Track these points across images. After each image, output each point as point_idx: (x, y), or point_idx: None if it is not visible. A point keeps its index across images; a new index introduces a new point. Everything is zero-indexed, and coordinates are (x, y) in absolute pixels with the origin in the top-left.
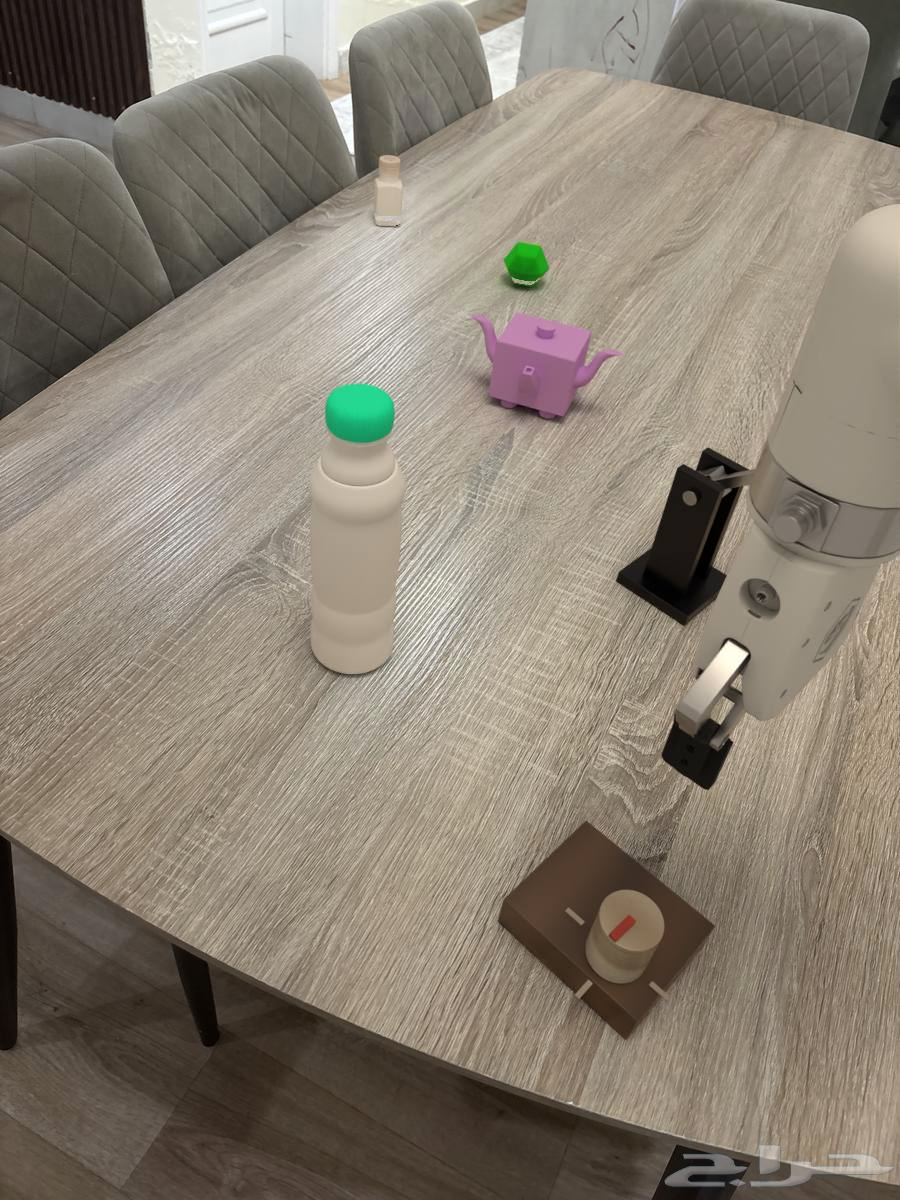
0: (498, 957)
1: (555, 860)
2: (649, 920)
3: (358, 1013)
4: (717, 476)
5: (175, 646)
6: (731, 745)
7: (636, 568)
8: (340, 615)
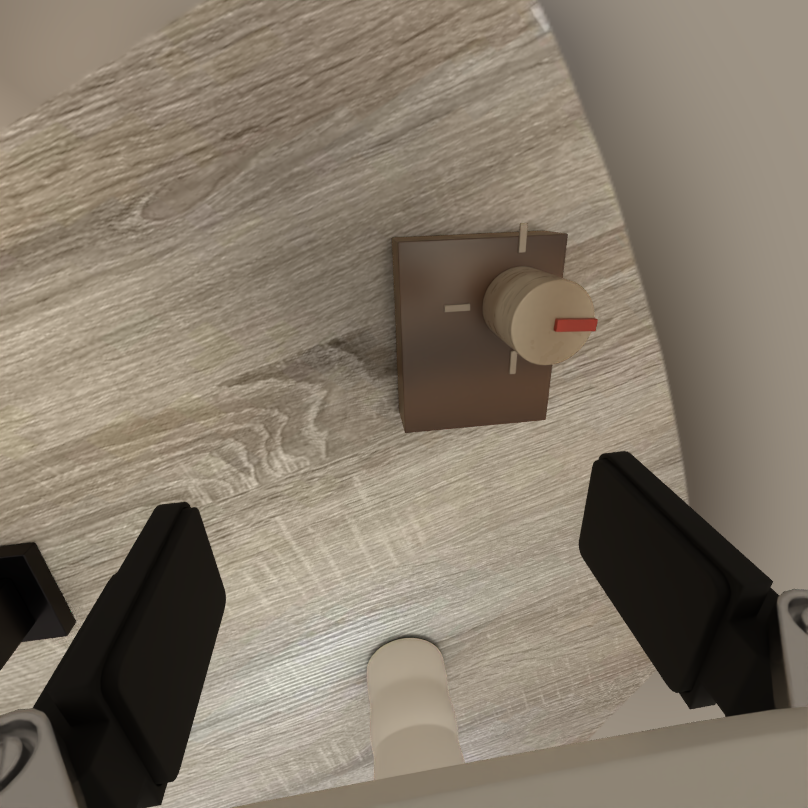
0: (555, 374)
1: (471, 419)
2: (540, 308)
3: (667, 411)
4: None
5: (512, 705)
6: (740, 575)
7: (37, 631)
8: (453, 728)
